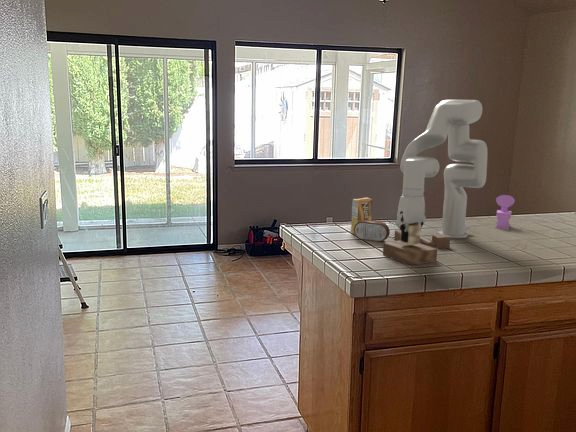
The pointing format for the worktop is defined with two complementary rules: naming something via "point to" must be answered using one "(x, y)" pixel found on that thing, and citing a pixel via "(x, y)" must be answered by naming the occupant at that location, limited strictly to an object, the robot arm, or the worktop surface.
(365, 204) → the candy box
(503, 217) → the toy chair
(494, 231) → the worktop surface
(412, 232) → the maple block
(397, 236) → the wooden block set
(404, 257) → the walnut block
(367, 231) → the tin
